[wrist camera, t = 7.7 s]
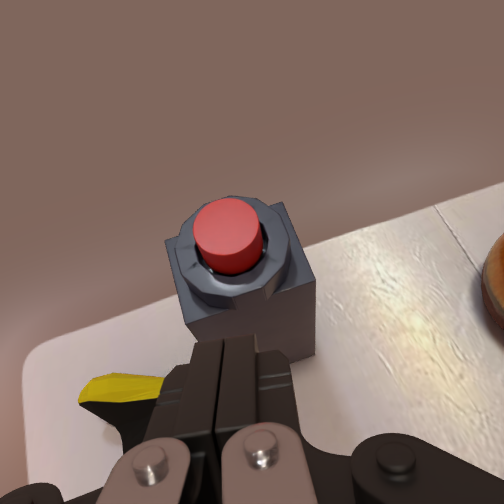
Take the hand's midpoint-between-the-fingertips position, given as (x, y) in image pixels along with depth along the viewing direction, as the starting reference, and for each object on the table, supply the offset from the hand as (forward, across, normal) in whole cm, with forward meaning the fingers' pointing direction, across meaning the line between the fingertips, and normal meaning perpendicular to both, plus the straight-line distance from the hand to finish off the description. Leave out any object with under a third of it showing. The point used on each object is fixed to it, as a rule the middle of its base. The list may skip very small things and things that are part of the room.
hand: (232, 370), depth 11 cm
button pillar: (+28, +1, +13) cm, 31 cm away
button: (+15, +1, +1) cm, 15 cm away
